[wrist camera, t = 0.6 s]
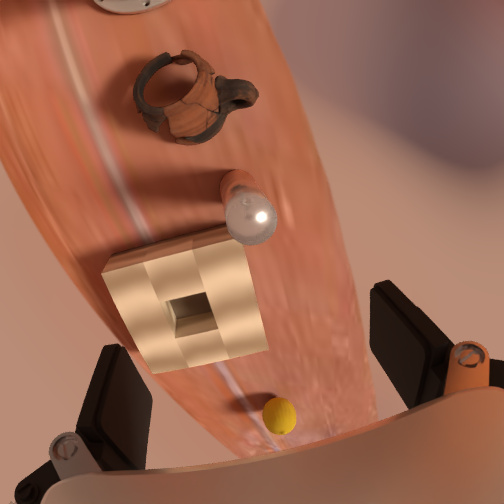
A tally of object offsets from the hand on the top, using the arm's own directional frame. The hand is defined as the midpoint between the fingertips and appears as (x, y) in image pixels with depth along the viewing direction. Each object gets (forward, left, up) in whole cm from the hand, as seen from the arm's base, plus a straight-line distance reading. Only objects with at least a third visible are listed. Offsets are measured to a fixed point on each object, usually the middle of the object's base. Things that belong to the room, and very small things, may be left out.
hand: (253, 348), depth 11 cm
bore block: (+13, -7, -27) cm, 31 cm away
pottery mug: (-10, 0, -27) cm, 29 cm away
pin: (+1, +2, -27) cm, 27 cm away
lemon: (+38, 0, -27) cm, 47 cm away
